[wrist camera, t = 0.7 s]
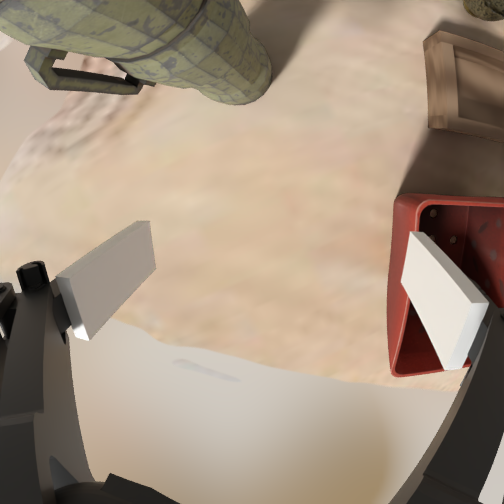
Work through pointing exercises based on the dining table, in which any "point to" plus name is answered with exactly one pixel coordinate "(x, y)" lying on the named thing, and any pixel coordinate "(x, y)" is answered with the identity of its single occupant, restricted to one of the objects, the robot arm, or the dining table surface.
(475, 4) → the olive textured bell shape
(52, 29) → the thermos
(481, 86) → the walnut box
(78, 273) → the robot arm
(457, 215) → the plant pot
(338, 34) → the dining table surface
